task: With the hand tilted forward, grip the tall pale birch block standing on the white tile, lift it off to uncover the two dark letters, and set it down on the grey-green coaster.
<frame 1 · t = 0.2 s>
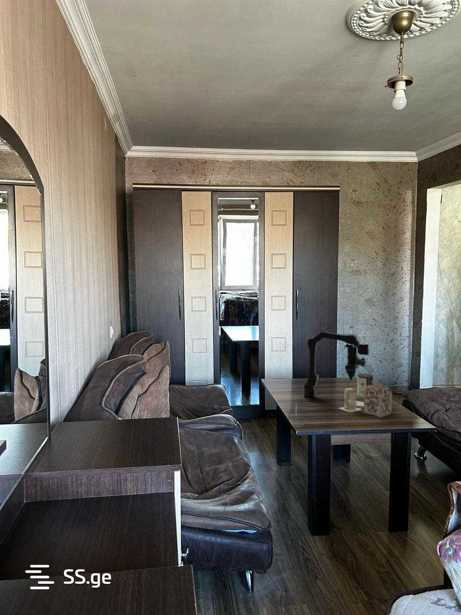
hand: (352, 378, 290), 15 cm above the table, tool pointing down, fingers open, 9 cm apart
decorative jar: (377, 413, 266), on the table
birch block: (350, 408, 273), resting on white tile
white tile: (350, 409, 273), on the table
coffee can: (364, 396, 304), on the table
coaster: (361, 404, 284), on the table
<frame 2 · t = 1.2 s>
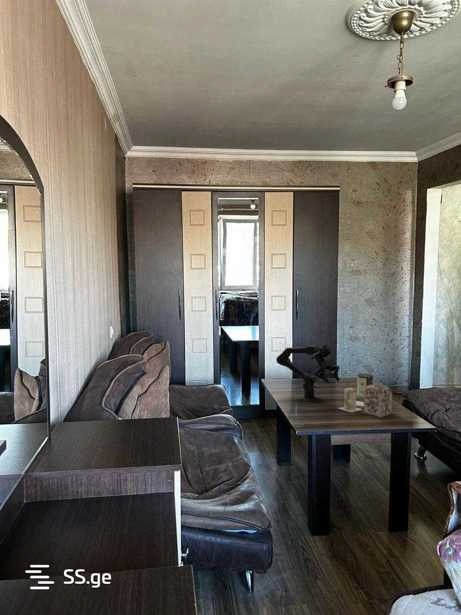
hand: (333, 382, 286), 13 cm above the table, tool tilted 45°, fingers open, 9 cm apart
nothing on the table moved.
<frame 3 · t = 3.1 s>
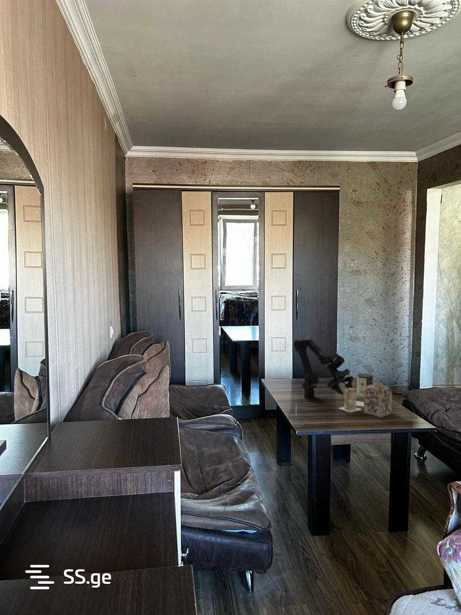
hand: (347, 393, 274), 9 cm above the table, tool tilted 45°, fingers open, 9 cm apart
nothing on the table moved.
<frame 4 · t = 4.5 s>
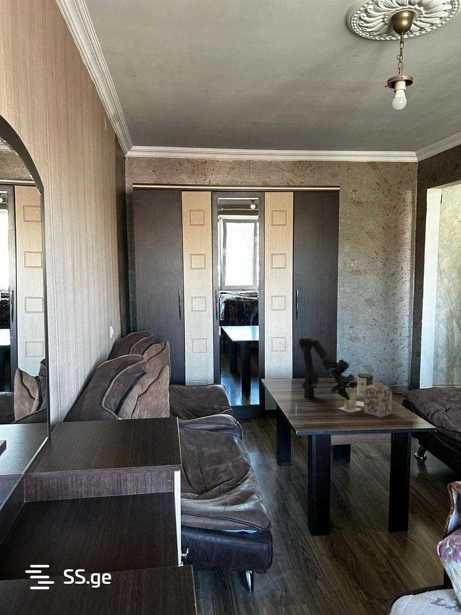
hand: (352, 399, 272), 7 cm above the table, tool tilted 45°, fingers closed on birch block, 5 cm apart
birch block: (350, 408, 273), resting on white tile, touching gripper
everything else where it was.
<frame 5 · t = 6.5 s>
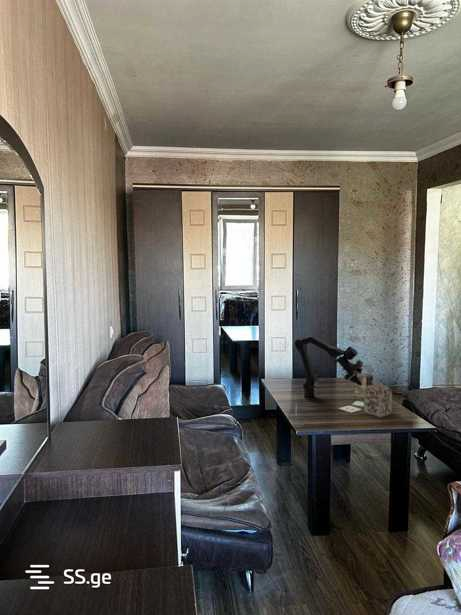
hand: (362, 384, 280), 13 cm above the table, tool tilted 45°, fingers closed on birch block, 5 cm apart
birch block: (360, 393, 282), point 7 cm above the table, touching gripper
everything else where it was.
when the fingers open (8 cm above the table, at t = 8.3 s): birch block drops 1 cm, resting on coaster.
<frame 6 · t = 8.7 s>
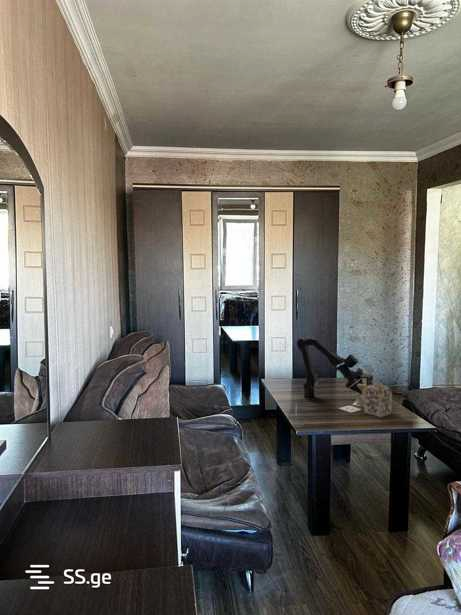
hand: (363, 391, 282), 8 cm above the table, tool tilted 45°, fingers open, 9 cm apart
birch block: (361, 403, 284), resting on coaster
everything else where it was.
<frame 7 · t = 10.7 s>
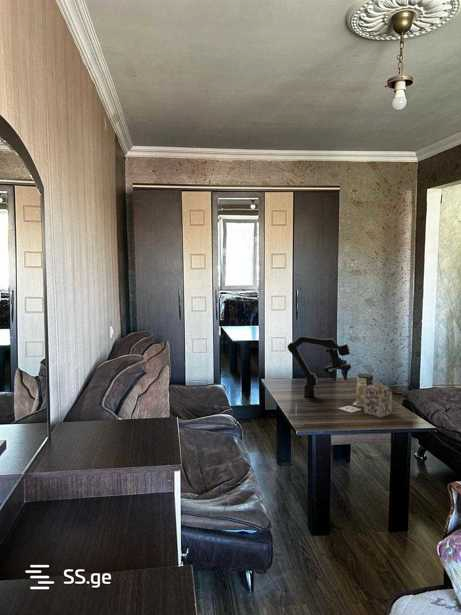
hand: (340, 380, 295), 12 cm above the table, tool pointing down, fingers open, 9 cm apart
nothing on the table moved.
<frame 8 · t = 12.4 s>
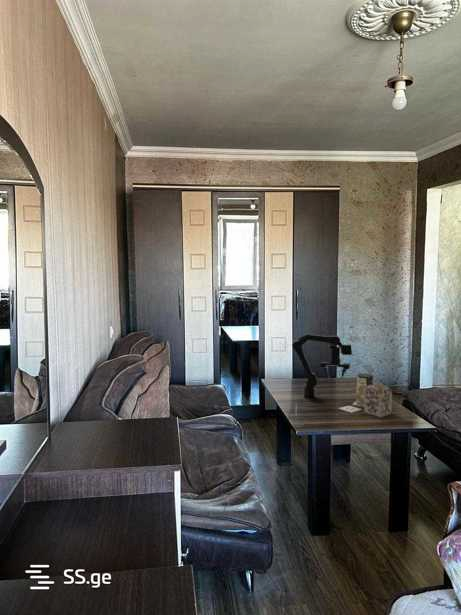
hand: (335, 378, 299), 13 cm above the table, tool pointing down, fingers open, 9 cm apart
nothing on the table moved.
at the end: birch block inside the target area (0.0 cm from its centre), resting on coaster; birch block tilted 0°; birch block touching coaster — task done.
